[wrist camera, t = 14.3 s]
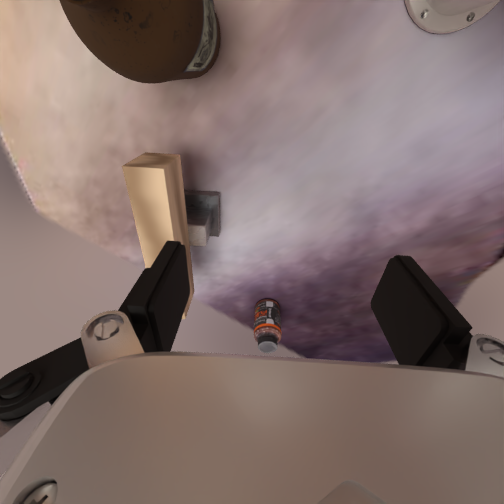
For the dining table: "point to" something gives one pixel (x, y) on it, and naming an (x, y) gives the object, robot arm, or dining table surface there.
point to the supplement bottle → (267, 325)
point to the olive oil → (148, 36)
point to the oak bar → (158, 205)
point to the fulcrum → (202, 216)
